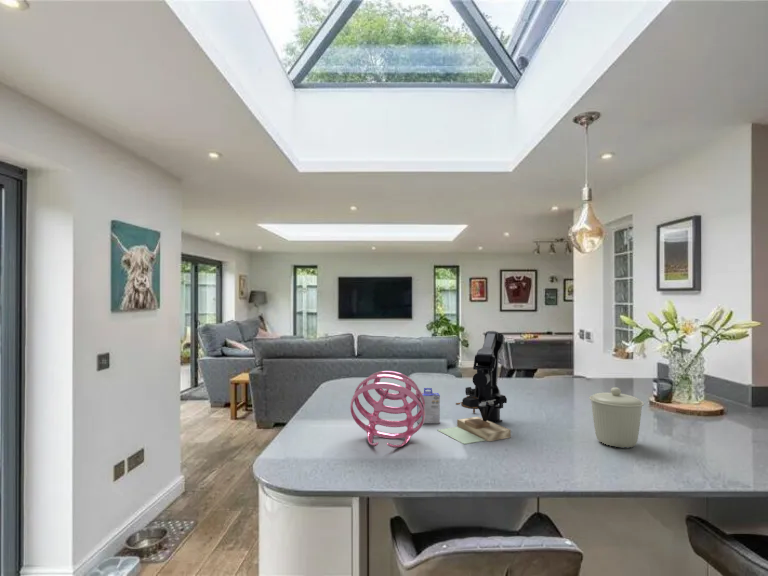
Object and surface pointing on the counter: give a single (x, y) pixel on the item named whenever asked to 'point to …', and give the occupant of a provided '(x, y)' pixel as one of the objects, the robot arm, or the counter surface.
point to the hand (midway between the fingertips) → (484, 421)
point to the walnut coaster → (477, 423)
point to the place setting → (469, 407)
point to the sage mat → (461, 435)
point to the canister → (616, 418)
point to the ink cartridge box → (430, 407)
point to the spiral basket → (381, 407)
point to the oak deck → (486, 430)
